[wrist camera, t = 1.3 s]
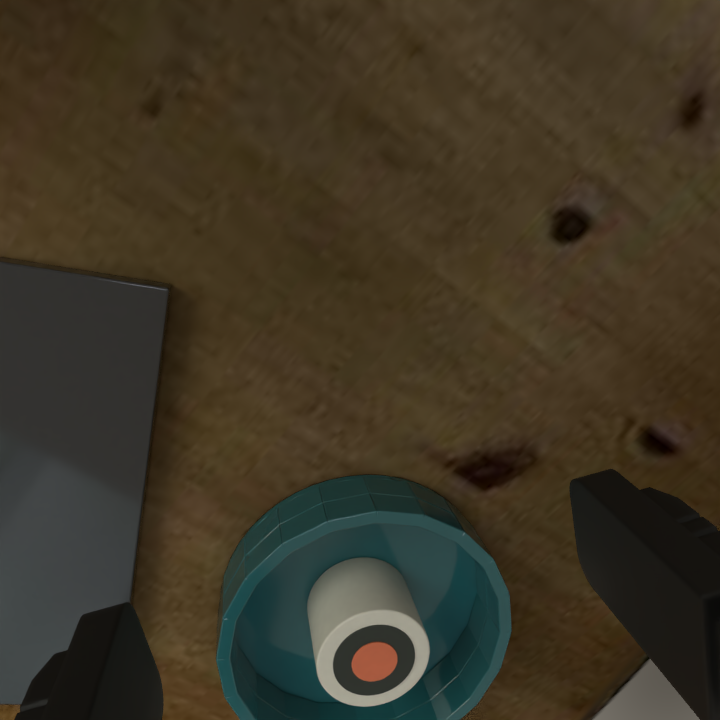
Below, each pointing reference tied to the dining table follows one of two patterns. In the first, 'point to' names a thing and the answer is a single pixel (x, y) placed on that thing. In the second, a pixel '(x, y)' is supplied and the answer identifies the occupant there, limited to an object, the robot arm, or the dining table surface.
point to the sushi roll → (366, 633)
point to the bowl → (342, 542)
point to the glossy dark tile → (71, 451)
